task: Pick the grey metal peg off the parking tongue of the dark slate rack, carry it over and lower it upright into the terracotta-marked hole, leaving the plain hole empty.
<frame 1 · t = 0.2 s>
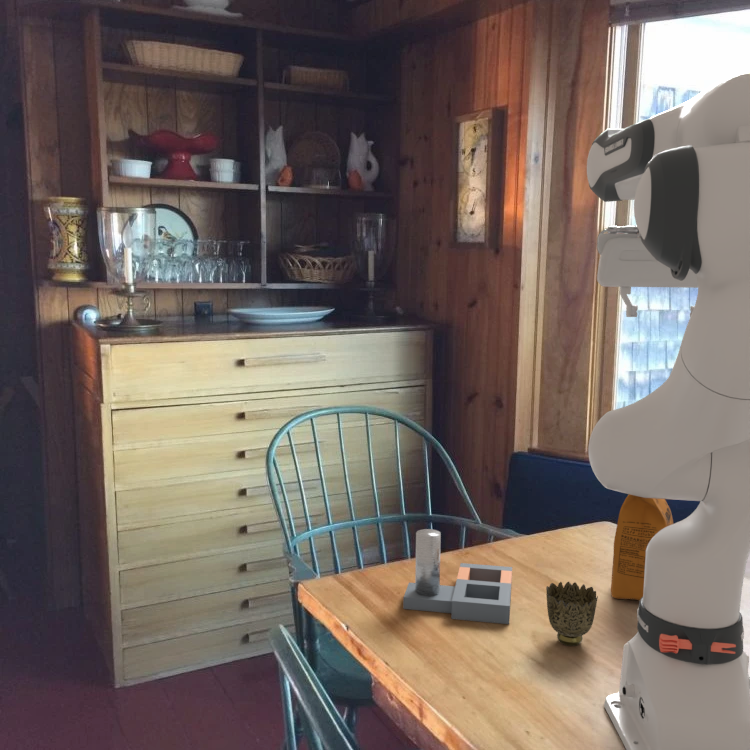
hand: (663, 317, 122), 48 cm above the table, tool pointing down, fingers open, 8 cm apart
coffee package: (641, 593, 137), on the table
cup: (569, 643, 119), on the table
peg: (427, 591, 131), point 2 cm above the table, touching rack
rack: (483, 600, 133), on the table
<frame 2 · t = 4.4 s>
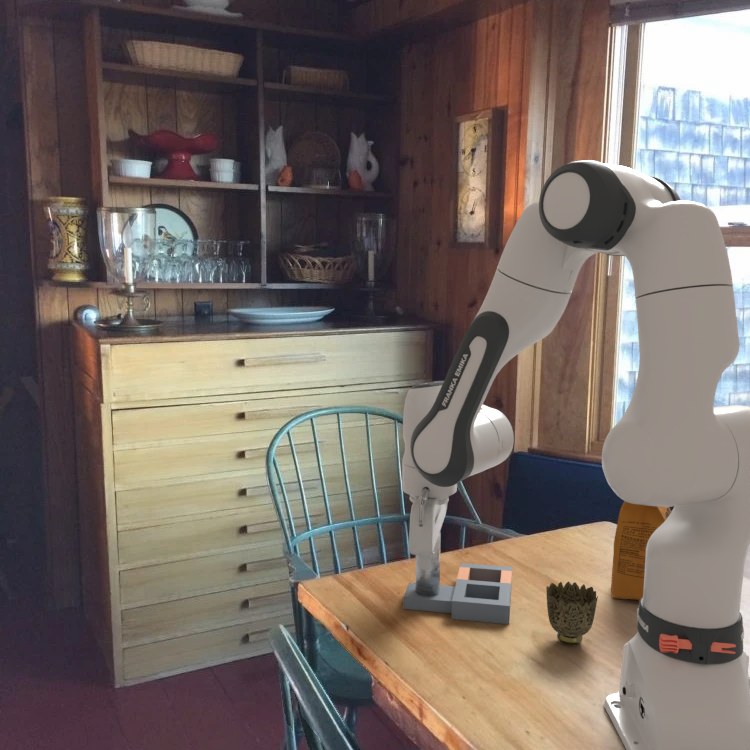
hand: (428, 561, 131), 7 cm above the table, tool pointing down, fingers closed on peg, 4 cm apart
peg: (427, 591, 131), point 2 cm above the table, touching gripper, rack
everything else where it was.
when the fingers open (7 cm above the table, at t = 9.4 s): peg drops 1 cm, resting on rack.
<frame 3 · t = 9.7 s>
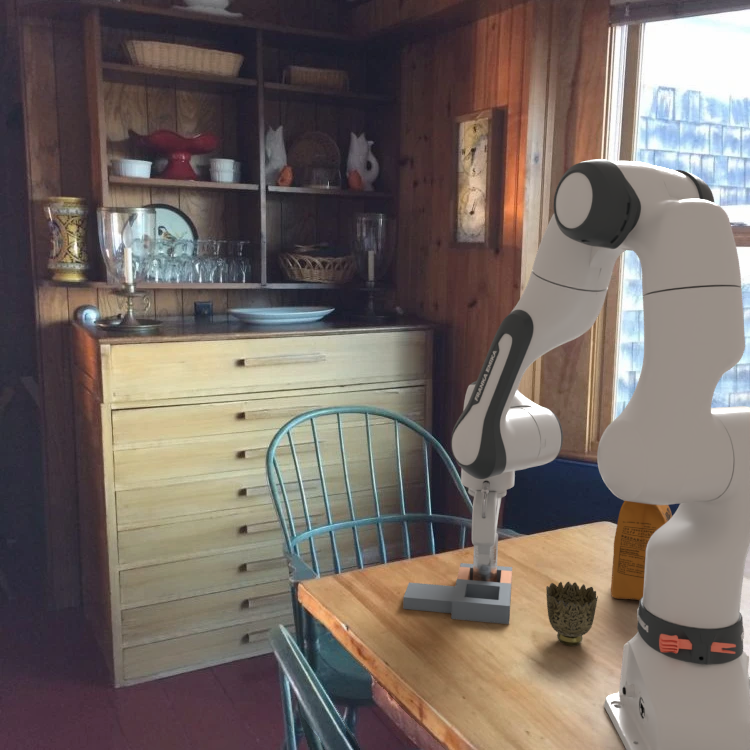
hand: (485, 553, 135), 7 cm above the table, tool pointing down, fingers open, 7 cm apart
peg: (484, 590, 136), resting on rack
everything else where it was.
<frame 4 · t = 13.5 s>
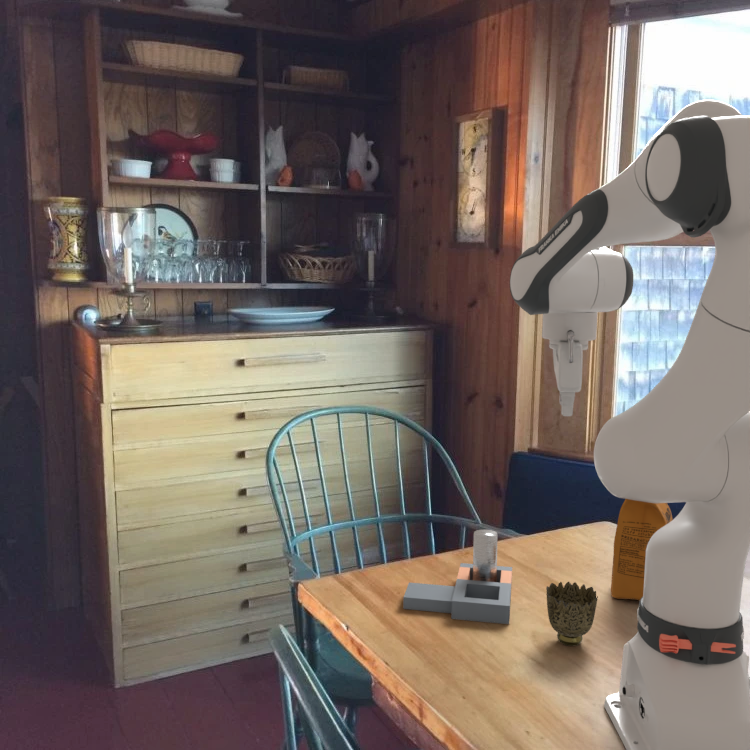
hand: (565, 410, 135), 31 cm above the table, tool pointing down, fingers open, 8 cm apart
nothing on the table moved.
at the end: peg 0.1 cm from the target spot on the rack, point 0.4 cm above the rack's base; peg tilted 2°; the gripper is holding nothing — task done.
